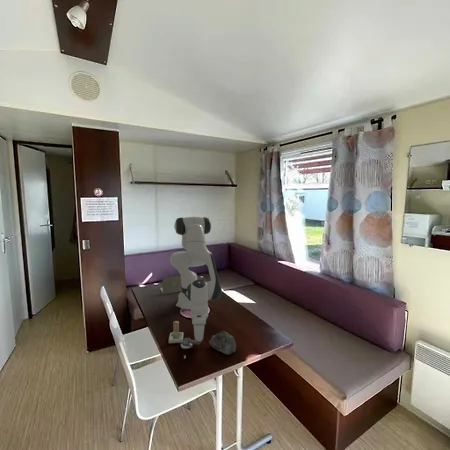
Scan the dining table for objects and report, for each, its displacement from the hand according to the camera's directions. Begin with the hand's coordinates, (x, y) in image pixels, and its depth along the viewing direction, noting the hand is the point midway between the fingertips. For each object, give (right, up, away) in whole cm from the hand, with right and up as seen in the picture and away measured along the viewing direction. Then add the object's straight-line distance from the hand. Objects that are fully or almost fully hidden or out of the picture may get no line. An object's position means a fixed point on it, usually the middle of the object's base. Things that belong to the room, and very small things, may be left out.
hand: (199, 338), depth 130 cm
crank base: (-7, -5, -2) cm, 8 cm away
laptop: (-30, +4, +81) cm, 86 cm away
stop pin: (-13, -3, +8) cm, 16 cm away
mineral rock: (+12, -5, 0) cm, 13 cm away
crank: (-4, -3, +1) cm, 5 cm away
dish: (-13, -4, +8) cm, 16 cm away
